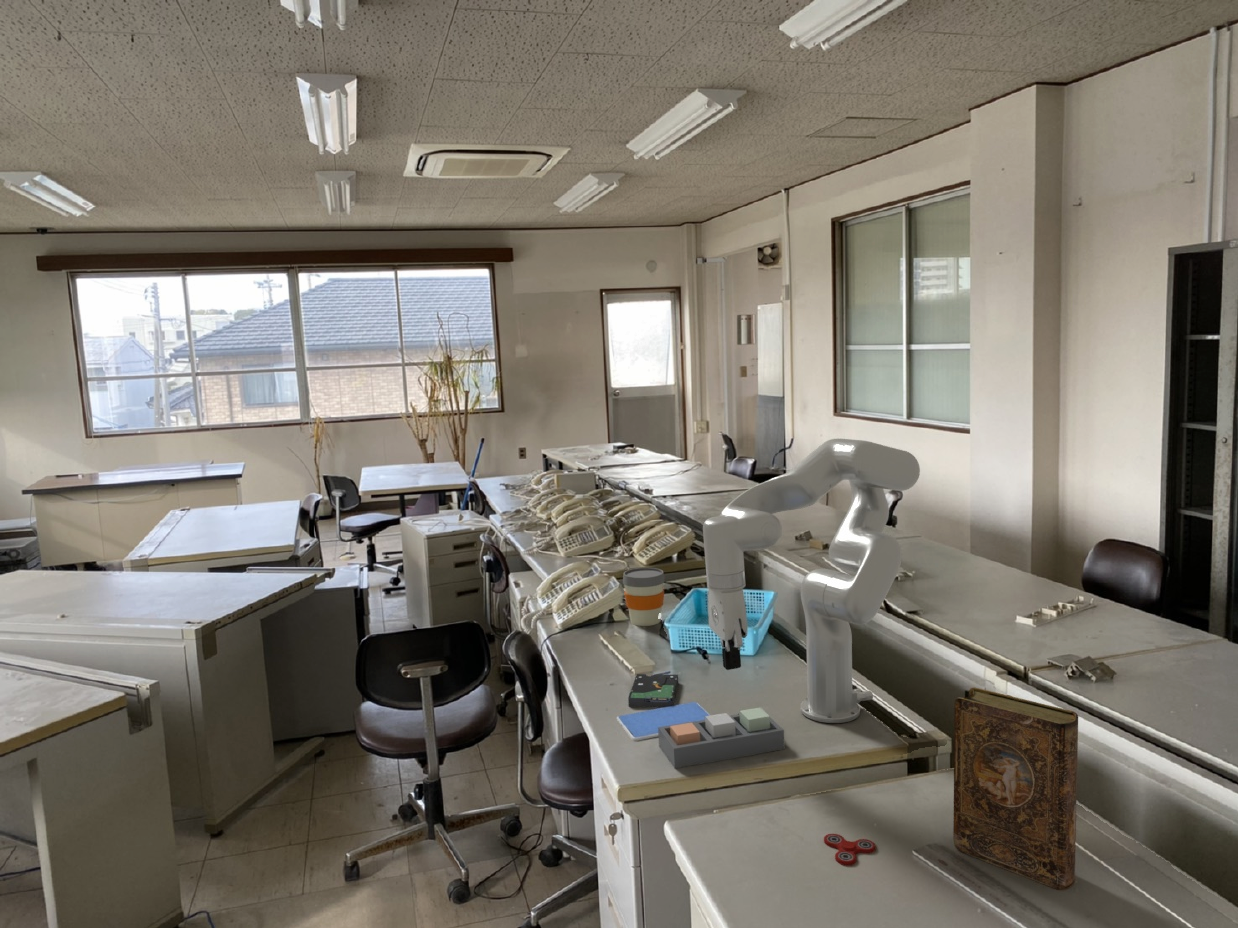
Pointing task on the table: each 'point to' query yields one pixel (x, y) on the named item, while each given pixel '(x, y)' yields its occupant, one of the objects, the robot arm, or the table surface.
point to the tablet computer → (659, 719)
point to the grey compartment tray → (720, 744)
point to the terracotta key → (684, 734)
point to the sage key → (754, 719)
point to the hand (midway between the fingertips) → (732, 667)
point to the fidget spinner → (848, 848)
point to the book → (1016, 785)
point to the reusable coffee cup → (644, 595)
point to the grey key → (720, 725)
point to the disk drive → (653, 691)
